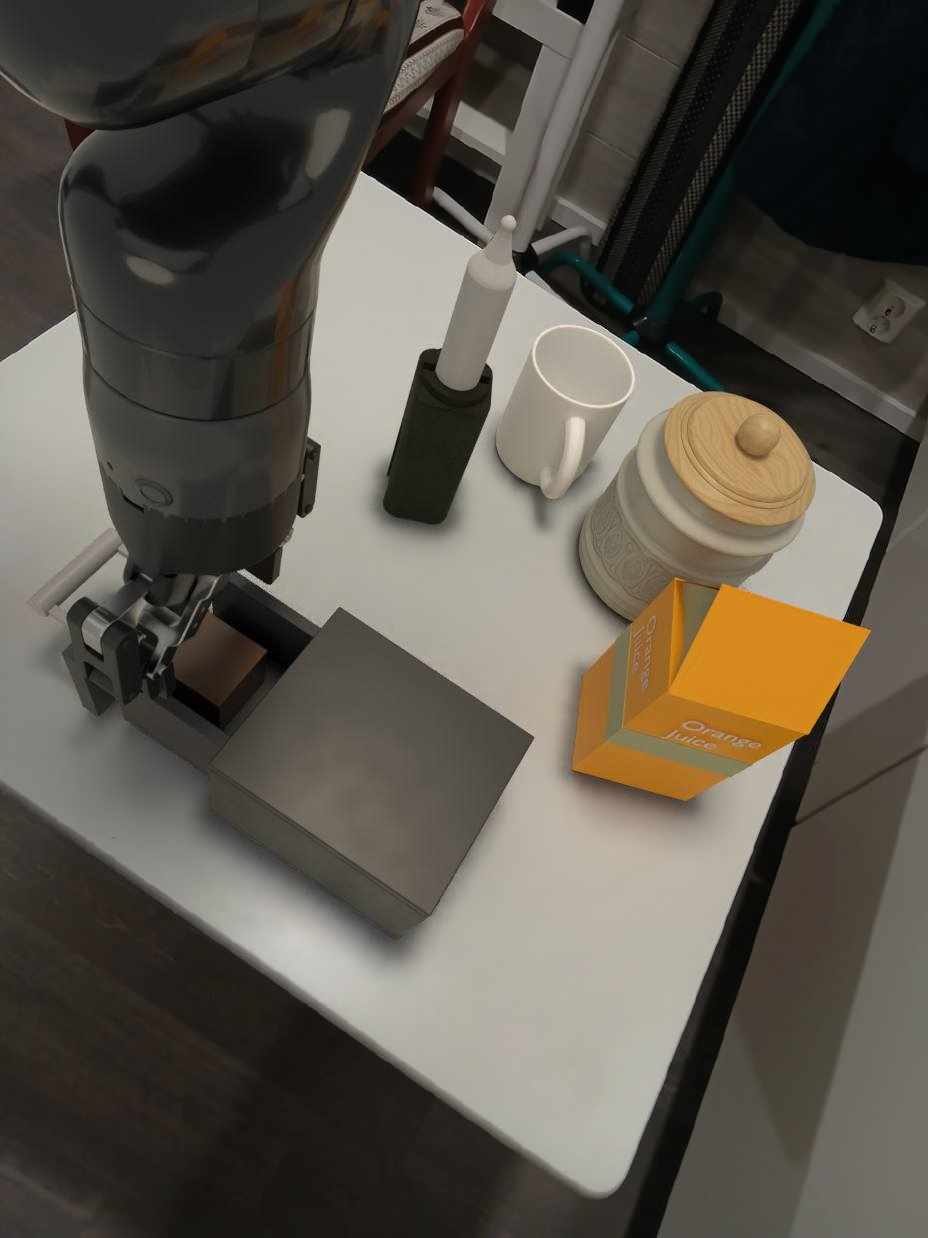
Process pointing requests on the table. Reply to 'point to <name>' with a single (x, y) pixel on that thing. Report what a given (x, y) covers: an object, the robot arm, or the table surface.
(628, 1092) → the table surface
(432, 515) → the candle
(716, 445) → the jar
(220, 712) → the block
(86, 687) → the basket
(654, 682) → the orange juice
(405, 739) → the fryer
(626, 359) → the mug
